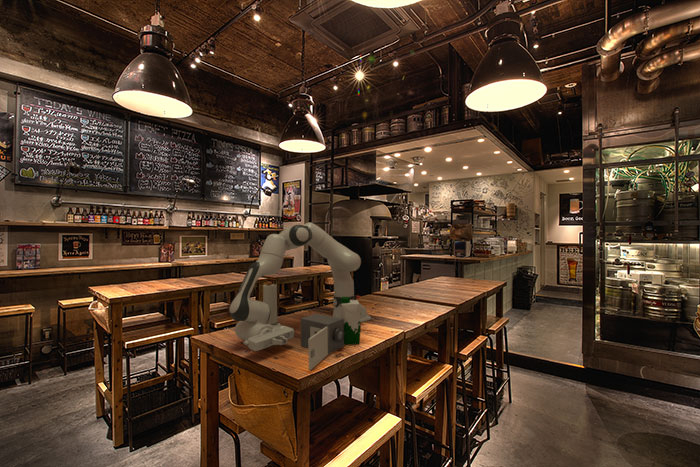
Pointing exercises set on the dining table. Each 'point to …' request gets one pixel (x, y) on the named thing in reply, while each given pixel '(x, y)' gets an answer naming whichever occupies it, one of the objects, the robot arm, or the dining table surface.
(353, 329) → the milk carton
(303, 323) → the box
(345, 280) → the robot arm
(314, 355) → the side door
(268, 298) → the paper towel roll
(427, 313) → the dining table surface
